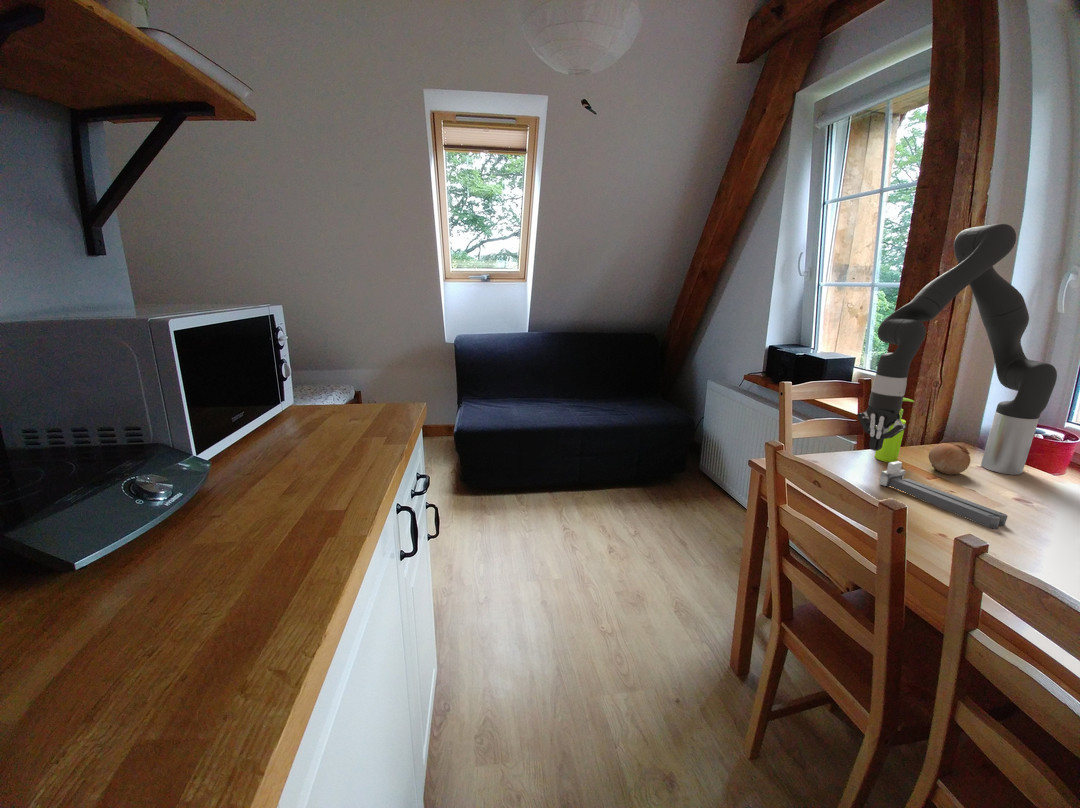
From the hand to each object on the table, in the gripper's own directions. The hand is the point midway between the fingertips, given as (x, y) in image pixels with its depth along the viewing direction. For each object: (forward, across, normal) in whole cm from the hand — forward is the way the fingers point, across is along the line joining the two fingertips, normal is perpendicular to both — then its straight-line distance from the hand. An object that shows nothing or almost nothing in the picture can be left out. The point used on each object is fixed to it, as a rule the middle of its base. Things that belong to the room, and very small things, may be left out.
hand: (874, 449), depth 138 cm
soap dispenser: (+8, -6, +18) cm, 21 cm away
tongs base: (+8, +18, 0) cm, 20 cm away
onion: (+8, +6, +24) cm, 26 cm away
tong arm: (+8, +20, +2) cm, 21 cm away
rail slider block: (+8, +6, 0) cm, 10 cm away
